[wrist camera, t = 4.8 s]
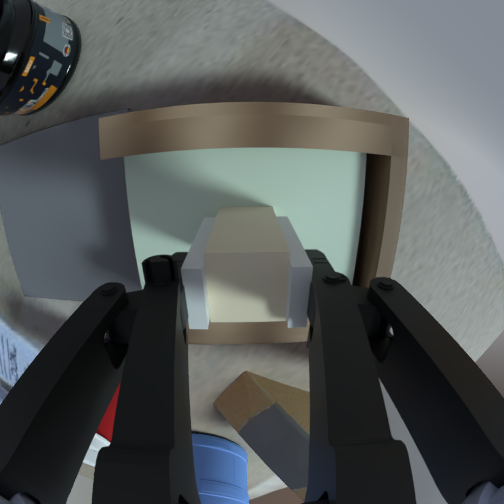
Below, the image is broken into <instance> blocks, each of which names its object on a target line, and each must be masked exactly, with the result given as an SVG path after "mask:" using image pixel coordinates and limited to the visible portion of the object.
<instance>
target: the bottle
mask: <svg viewBox="0 0 504 504" xmlns="http://www.w3.org/2000/svg"><path fill="white" fill-rule="evenodd" d="M390 332H391V334H392V335H393V330H392V327H391V328H390ZM379 381H380V386H381V390H382V394H383V398H384V402H385V407H386V411H387V416H388V421H389V426H390V431H391V435H392V437H393V438H394V440H402V442H403V443H404V444H405V445H406V448H407V451H408V454H409V459H410V465H411V470H412V476H413V482H414V489H415V496H416V503H417V504H448V503H447V502H446V501H445V499H444V498H443V497H442V495H441V493H440V491H439V490H438V488H437V486H436V484H435V482H434V480H433V478H432V476H431V474H430V472H429V470H428V468H427V466H426V464H425V462H424V460H423V458H422V456H421V454H420V452H419V450H418V448H417V446H416V444H415V442H414V440H413V439H412V437H411V435H410V433H409V431H408V429H407V427H406V425H405V424H404V422H403V420H402V418H401V416H400V414H399V413H398V411H397V409H396V407H395V405H394V404H393V402H392V400H391V398H390V396H389V395H388V393H387V391H386V389H385V387H384V386H383V384H382V382H381V380H380V379H379Z"/></svg>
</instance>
